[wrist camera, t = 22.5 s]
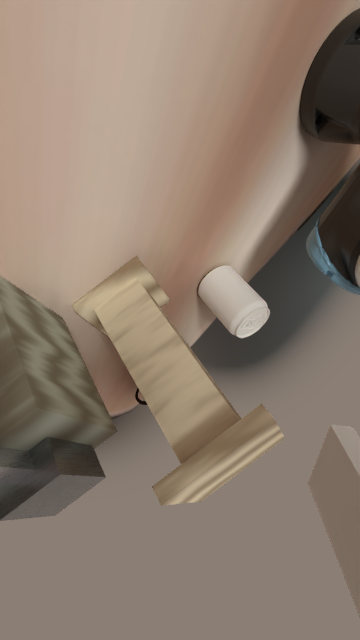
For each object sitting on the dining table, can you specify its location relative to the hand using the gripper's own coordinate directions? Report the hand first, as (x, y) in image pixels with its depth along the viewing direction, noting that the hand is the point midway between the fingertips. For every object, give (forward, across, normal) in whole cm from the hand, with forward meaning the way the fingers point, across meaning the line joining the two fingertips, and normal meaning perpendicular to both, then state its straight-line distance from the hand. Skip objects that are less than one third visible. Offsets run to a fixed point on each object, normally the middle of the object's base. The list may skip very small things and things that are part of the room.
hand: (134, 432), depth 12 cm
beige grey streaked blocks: (+37, -15, -13) cm, 42 cm away
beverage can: (+54, +8, -10) cm, 56 cm away
